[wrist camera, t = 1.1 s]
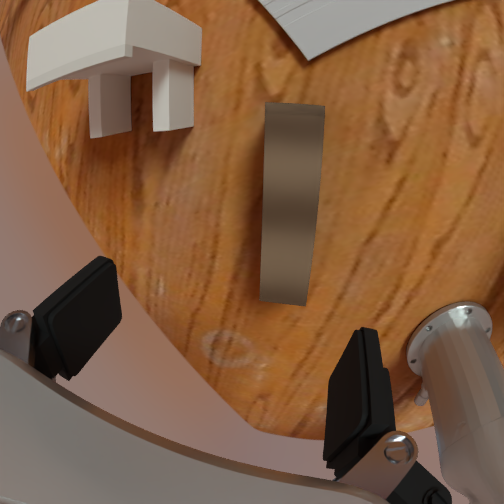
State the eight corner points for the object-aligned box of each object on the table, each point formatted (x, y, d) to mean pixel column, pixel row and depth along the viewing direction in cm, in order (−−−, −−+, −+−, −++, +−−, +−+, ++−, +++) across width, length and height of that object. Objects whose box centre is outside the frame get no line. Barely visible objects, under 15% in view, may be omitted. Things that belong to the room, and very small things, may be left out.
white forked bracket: (200, 126, 25) (125, 140, 15) (115, 132, 27) (29, 155, 17) (201, 28, 21) (130, -12, 10) (115, 46, 23) (29, 36, 12)
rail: (308, 271, 30) (305, 306, 25) (270, 266, 31) (259, 300, 25) (322, 108, 23) (324, 106, 17) (276, 105, 23) (265, 102, 18)
